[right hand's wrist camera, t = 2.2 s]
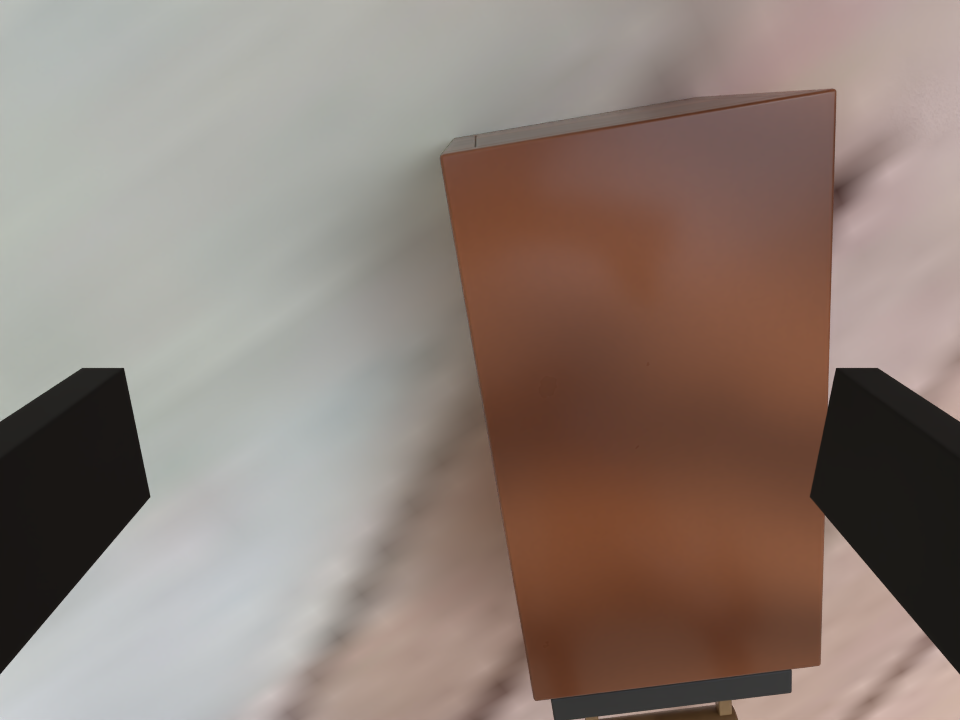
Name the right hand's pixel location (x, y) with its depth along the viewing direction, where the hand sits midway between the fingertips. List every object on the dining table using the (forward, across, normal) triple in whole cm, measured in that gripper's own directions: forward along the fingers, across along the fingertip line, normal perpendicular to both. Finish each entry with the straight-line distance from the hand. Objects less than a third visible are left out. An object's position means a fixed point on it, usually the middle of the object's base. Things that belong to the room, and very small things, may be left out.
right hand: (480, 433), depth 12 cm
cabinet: (+19, +6, -4) cm, 20 cm away
